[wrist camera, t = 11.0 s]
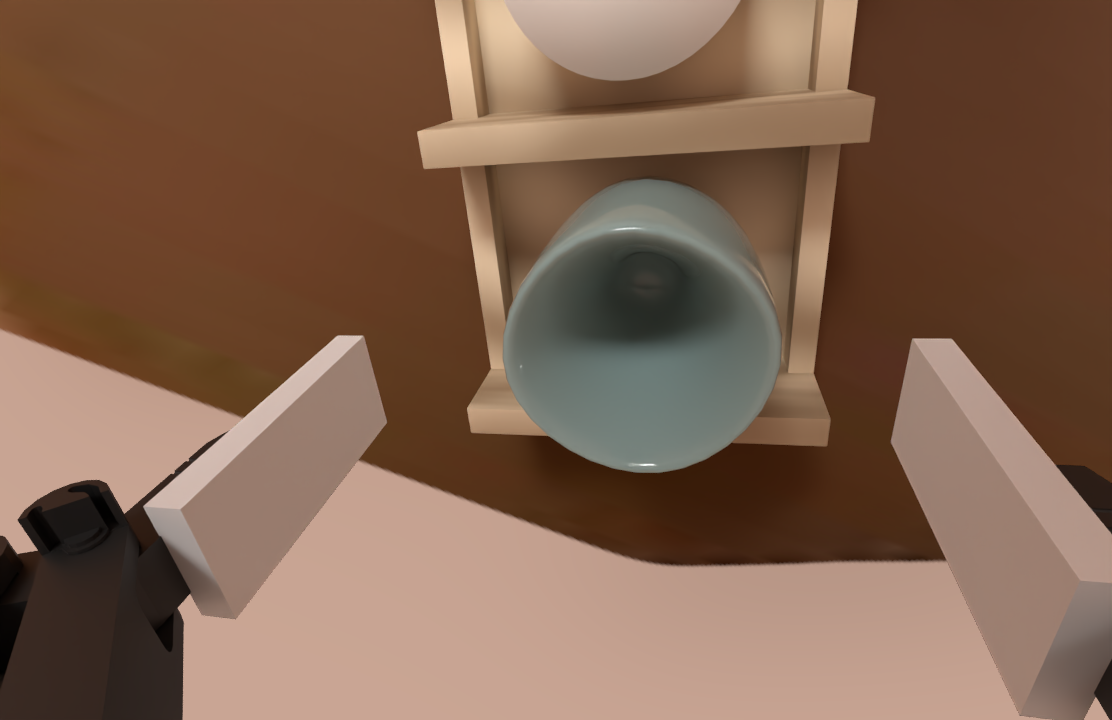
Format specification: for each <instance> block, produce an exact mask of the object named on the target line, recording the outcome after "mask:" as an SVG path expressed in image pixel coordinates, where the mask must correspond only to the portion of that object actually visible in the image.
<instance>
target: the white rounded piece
mask: <svg viewBox="0 0 1112 720" xmlns="http://www.w3.org/2000/svg"><path fill="white" fill-rule="evenodd" d="M504 2H505V4H506V6H507V8H508V10H509V12H510V13H511V15H512V17H513V19H514V21H515V22H516V23H517V25H518V26H519V28H520V29H521V30H522V32H523V33H524V35H525V36H526V37H527V38H528V39H529V40H530V41H531V42H532V43H533V44H534V46H535V47H536V48H537V49H539V50H540V51H541V52H542V53H543V54H545V55H546V56H547V57H548V58H549V59H551V60H553V61H554V62H556V63H557V64H559V65H561V66H562V67H564V68H566V69H568V70H571V71H573V72H575V73H577V74H580V75H584V76H587V77H591V78H594V79H602V80H610V81H618V80H632V79H639V78H644V77H647V76H651V75H654V74H657V73H660V72H663V71H665V70H667V69H669V68H671V67H673V66H676V65H677V64H679V63H681V62H682V61H684V60H685V59H687V58H688V57H690V56H692V55H693V54H694V53H695V52H697V51H698V50H699V49H700V48H702V47H703V46H704V45H705V44H706V43H707V42H708V41H709V40H710V39H711V38H712V37H713V36H714V35H715V34H716V33H717V32H718V31H719V30H720V29H721V28H722V26H723V25H724V24H725V23H726V21H727V20H728V19H729V17H730V16H731V15H732V13H733V12H734V10H735V9H736V7H737V5H738V4H739V2H740V0H504Z"/></svg>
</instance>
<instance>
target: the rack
mask: <svg viewBox="0 0 1112 720" xmlns="http://www.w3.org/2000/svg"><path fill="white" fill-rule="evenodd" d="M857 4H858V0H740V2H739V4H738V5H737V7H736V9H735V10H734V12H733V13H732V15H731V16H730V17H729V19H728V20H727V21H726V23H725V24H724V25H723V26H722V28H721V29H720V30H719V31H718V32H717V33H716V34H715V35H714V36H713V37H712V38H711V39H710V40H709V41H708V42H707V43H706V44H705V45H704V46H703V47H702V48H700V49H699V50H698V51H697V52H695V53H694V54H693V55H692V56H690V57H688V58H687V59H685V60H684V61H682V62H681V63H679V64H677V65H676V66H673V67H671V68H669V69H667V70H665V71H663V72H660V73H657V74H654V75H651V76H647V77H644V78H639V79H632V80H618V81H610V80H602V79H594V78H591V77H587V76H584V75H580V74H577V73H575V72H573V71H571V70H568V69H566V68H564V67H562V66H561V65H559V64H557V63H556V62H554V61H553V60H551V59H549V58H548V57H547V56H546V55H545V54H543V53H542V52H541V51H540V50H539V49H537V48H536V47H535V46H534V44H533V43H532V42H531V41H530V40H529V39H528V38H527V37H526V36H525V35H524V33H523V32H522V30H521V29H520V28H519V26H518V25H517V23H516V22H515V21H514V19H513V17H512V15H511V13H510V12H509V10H508V8H507V6H506V4H505V2H504V0H435V5H436V12H437V19H438V25H439V32H440V38H441V45H442V51H443V58H444V64H445V71H446V77H447V84H448V90H449V97H450V103H451V110H452V116H453V120H452V121H449V122H446V123H443V124H440V125H436V126H433V127H430V128H427V129H424V130H421V131H418V132H417V133H418V139H419V144H420V150H421V156H422V161H423V167H424V169H431V168H448V167H460V168H461V175H462V181H463V188H464V195H465V201H466V208H467V214H468V221H469V227H470V234H471V240H472V247H473V253H474V260H475V266H476V273H477V279H478V286H479V292H480V299H481V305H482V312H483V318H484V325H485V331H486V338H487V344H488V351H489V357H490V364H491V370H490V372H489V373H488V375H487V377H486V378H485V380H484V382H483V383H482V385H481V386H480V388H479V390H478V391H477V393H476V395H475V396H474V398H473V400H472V401H471V403H470V405H469V406H468V408H467V411H468V417H469V422H470V428H471V433H488V434H514V435H540V436H548V435H547V434H546V433H545V432H544V431H543V430H542V429H541V428H540V427H539V426H538V425H536V424H535V423H534V422H533V421H532V420H531V419H530V417H529V416H528V415H527V414H526V412H525V411H524V410H523V408H522V407H521V406H520V404H519V403H518V402H517V400H516V398H515V396H514V394H513V392H512V390H511V388H510V385H509V383H508V381H507V378H506V373H505V368H504V363H503V334H504V329H505V325H506V321H507V317H508V313H509V309H510V307H511V304H512V302H513V300H514V298H515V296H516V294H517V291H518V289H519V287H520V285H521V283H522V281H523V279H524V277H525V276H526V274H527V272H528V271H529V269H530V268H531V266H532V265H533V264H534V262H535V261H536V259H537V258H538V256H539V255H540V254H541V252H542V251H543V249H544V248H545V247H546V245H547V244H548V242H549V241H550V240H551V238H552V237H553V235H554V234H555V233H556V231H557V230H558V229H559V227H560V226H561V225H562V224H563V222H564V221H565V220H566V219H567V218H568V217H569V216H570V215H571V214H572V213H573V212H574V211H575V210H576V209H577V208H578V207H579V206H580V205H581V204H582V203H583V202H584V201H586V200H587V199H588V198H589V197H591V196H592V195H594V194H595V193H597V192H599V191H600V190H602V189H603V188H605V187H606V186H608V185H610V184H613V183H616V182H618V181H621V180H624V179H627V178H629V177H638V176H647V175H650V176H659V177H668V178H672V179H675V180H678V181H681V182H684V183H688V184H690V185H692V186H694V187H696V188H697V189H699V190H701V191H703V192H705V193H707V194H708V195H710V196H711V197H712V198H713V199H715V200H716V201H717V202H718V203H720V204H721V205H722V206H723V207H725V208H726V209H727V210H728V211H729V213H730V214H731V215H732V216H733V217H734V218H735V219H736V221H737V222H738V223H739V224H740V225H741V227H742V228H743V229H744V231H745V233H746V234H747V236H748V238H749V240H750V242H751V243H752V245H753V247H754V249H755V251H756V253H757V254H758V256H759V259H760V261H761V263H762V266H763V268H764V271H765V274H766V277H767V279H768V282H769V285H770V288H771V291H772V295H773V298H774V302H775V306H776V309H777V313H778V317H779V321H780V325H781V329H782V360H781V365H780V369H779V372H778V376H777V379H776V383H775V386H774V389H773V391H772V393H771V394H770V396H769V398H768V400H767V402H766V404H765V406H764V407H763V409H762V411H761V412H760V413H759V415H758V416H757V417H756V418H755V419H754V421H753V422H752V423H751V424H750V426H749V427H748V428H747V429H746V430H745V431H744V432H743V433H742V434H741V435H740V436H738V437H737V438H736V439H735V440H734V441H733V442H732V443H750V444H776V445H802V446H827V443H828V435H829V428H830V421H831V419H830V416H829V413H828V411H827V408H826V405H825V403H824V400H823V397H822V395H821V392H820V389H819V387H818V384H817V381H816V379H815V376H814V366H815V357H816V349H817V340H818V332H819V324H820V315H821V307H822V298H823V290H824V282H825V273H826V265H827V256H828V248H829V239H830V231H831V223H832V214H833V206H834V197H835V189H836V181H837V172H838V164H839V155H840V147H841V144H844V143H861V142H869V140H870V133H871V125H872V118H873V111H874V104H875V97H872V96H868V95H865V94H862V93H858V92H855V91H851V90H848V89H847V88H848V80H849V71H850V63H851V54H852V46H853V37H854V29H855V21H856V12H857Z"/></svg>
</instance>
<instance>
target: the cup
mask: <svg viewBox="0 0 1112 720" xmlns="http://www.w3.org/2000/svg"><path fill="white" fill-rule="evenodd" d="M781 360H782V329H781V325H780V321H779V317H778V313H777V309H776V306H775V302H774V298H773V295H772V291H771V288H770V285H769V282H768V279H767V277H766V274H765V271H764V268H763V266H762V263H761V261H760V259H759V256H758V254H757V253H756V251H755V249H754V247H753V245H752V243H751V242H750V240H749V238H748V236H747V234H746V233H745V231H744V229H743V228H742V227H741V225H740V224H739V223H738V222H737V221H736V219H735V218H734V217H733V216H732V215H731V214H730V213H729V211H728V210H727V209H726V208H725V207H723V206H722V205H721V204H720V203H718V202H717V201H716V200H715V199H713V198H712V197H711V196H710V195H708V194H707V193H705V192H703V191H701V190H699V189H697V188H696V187H694V186H692V185H690V184H688V183H684V182H681V181H678V180H675V179H672V178H668V177H659V176H650V175H647V176H638V177H629V178H627V179H624V180H621V181H618V182H616V183H613V184H610V185H608V186H606V187H605V188H603V189H602V190H600V191H599V192H597V193H595V194H594V195H592V196H591V197H589V198H588V199H587V200H586V201H584V202H583V203H582V204H581V205H580V206H579V207H578V208H577V209H576V210H575V211H574V212H573V213H572V214H571V215H570V216H569V217H568V218H567V219H566V220H565V221H564V222H563V224H562V225H561V226H560V227H559V229H558V230H557V231H556V233H555V234H554V235H553V237H552V238H551V240H550V241H549V242H548V244H547V245H546V247H545V248H544V249H543V251H542V252H541V254H540V255H539V256H538V258H537V259H536V261H535V262H534V264H533V265H532V266H531V268H530V269H529V271H528V272H527V274H526V276H525V277H524V279H523V281H522V283H521V285H520V287H519V289H518V291H517V294H516V296H515V298H514V300H513V302H512V304H511V307H510V309H509V313H508V317H507V321H506V325H505V329H504V334H503V363H504V368H505V373H506V378H507V381H508V383H509V385H510V388H511V390H512V392H513V394H514V396H515V398H516V400H517V402H518V403H519V404H520V406H521V407H522V408H523V410H524V411H525V412H526V414H527V415H528V416H529V417H530V419H531V420H532V421H533V422H534V423H535V424H536V425H538V426H539V427H540V428H541V429H542V430H543V431H544V432H545V433H546V434H547V435H548V436H549V437H551V438H552V439H554V440H555V441H557V442H558V443H560V444H561V445H562V446H564V447H565V448H567V449H568V450H570V451H572V452H574V453H576V454H578V455H580V456H582V457H584V458H586V459H588V460H590V461H593V462H596V463H599V464H602V465H605V466H607V467H610V468H614V469H619V470H625V471H630V472H636V473H661V472H667V471H672V470H677V469H682V468H685V467H688V466H690V465H693V464H695V463H698V462H700V461H703V460H705V459H707V458H709V457H711V456H712V455H714V454H715V453H717V452H719V451H720V450H722V449H724V448H725V447H727V446H728V445H729V444H730V443H732V442H733V441H734V440H735V439H736V438H737V437H738V436H740V435H741V434H742V433H743V432H744V431H745V430H746V429H747V428H748V427H749V426H750V424H751V423H752V422H753V421H754V419H755V418H756V417H757V416H758V415H759V413H760V412H761V411H762V409H763V407H764V406H765V404H766V402H767V400H768V398H769V396H770V394H771V393H772V391H773V389H774V386H775V383H776V379H777V376H778V372H779V369H780V365H781Z"/></svg>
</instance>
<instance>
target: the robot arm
mask: <svg viewBox="0 0 1112 720" xmlns="http://www.w3.org/2000/svg"><path fill="white" fill-rule="evenodd" d="M386 423H387V421H386V417H385V413H384V409H383V406H382V402H381V398H380V395H379V391H378V387H377V383H376V380H375V376H374V372H373V369H372V365H371V361H370V357H369V354H368V350H367V346H366V343H365V339H364V336H337V337H336V338H335V339H333V340H332V341H331V342H330V343H329V344H328V345H327V346H325V347H324V348H323V349H322V350H321V351H320V352H319V353H317V354H316V355H315V356H314V357H313V358H312V359H311V360H309V361H308V362H307V363H306V364H305V365H304V366H303V367H301V368H300V369H299V370H298V371H297V372H296V373H295V374H293V375H292V376H291V377H290V378H289V379H288V380H287V381H285V382H284V383H283V384H282V385H281V386H280V387H279V388H278V389H276V390H275V391H274V392H273V393H272V394H271V395H270V396H268V397H267V398H266V399H265V400H264V401H263V402H262V403H260V404H259V405H258V406H257V407H256V408H255V409H254V410H252V411H251V412H250V413H249V414H248V415H247V416H246V417H244V418H243V419H242V420H241V421H240V422H239V423H238V424H237V425H235V426H234V427H233V428H232V429H231V430H229V431H228V432H226V433H224V434H222V435H220V436H219V437H217V438H215V439H213V440H211V441H210V442H208V443H206V444H205V445H204V446H203V447H202V448H200V449H199V450H198V451H197V452H196V453H195V454H194V455H192V456H191V457H190V458H189V461H188V462H187V461H186V462H184V463H183V464H182V465H181V466H180V467H179V468H177V469H176V470H175V473H174V474H170V475H169V476H168V477H167V478H166V479H165V480H163V481H162V482H161V483H160V484H159V485H158V486H156V487H155V488H154V489H153V490H152V491H151V492H149V493H148V494H147V495H146V496H145V497H144V498H142V499H141V500H140V501H139V502H138V503H137V504H136V505H134V506H133V507H132V508H131V509H130V510H129V511H127V512H126V513H125V514H124V513H123V511H122V509H121V508H120V506H119V504H118V502H117V501H116V499H115V497H114V495H113V493H112V492H111V490H110V488H109V486H108V485H107V483H105V482H102V481H100V480H86V481H81V482H78V483H73V484H69V485H67V486H65V487H62V488H59V489H57V490H54V491H52V492H50V493H49V494H47V495H45V496H43V497H42V498H40V499H38V500H37V501H35V502H34V503H33V504H32V505H30V506H29V507H28V508H27V509H26V510H24V512H23V513H22V514H21V516H20V517H19V519H18V521H19V523H20V524H21V525H22V527H23V529H24V530H25V532H26V533H27V535H28V536H29V538H30V539H31V541H32V542H33V543H34V545H35V546H36V548H37V549H38V551H34V552H27V553H21V554H17V553H16V552H15V550H14V549H13V548H12V546H11V545H10V543H9V542H8V540H7V539H6V538H5V537H3V536H0V720H182V715H183V714H182V713H183V627H184V622H183V619H182V616H181V614H180V612H179V610H178V606H179V605H180V604H181V603H182V602H183V601H184V600H185V599H186V597H187V596H188V595H189V594H191V596H192V598H193V600H194V602H195V603H196V605H197V607H198V609H199V611H200V612H201V614H202V615H205V616H214V617H222V618H230V619H236V618H237V617H238V615H239V614H240V613H241V612H242V611H243V609H244V608H245V607H246V605H247V604H248V603H249V601H250V600H251V599H252V598H253V596H254V595H255V594H256V592H257V591H258V590H259V588H260V587H261V586H262V585H263V583H264V582H265V581H266V579H267V578H268V576H269V575H270V574H271V573H272V571H273V570H274V569H275V567H276V566H277V565H278V564H279V562H280V561H281V560H282V558H283V557H284V556H285V555H286V553H287V552H288V551H289V549H290V548H291V547H292V545H293V544H294V543H295V542H296V540H297V539H298V538H299V536H300V535H301V534H302V532H303V531H304V530H305V528H306V527H307V526H308V525H309V523H310V522H311V521H312V519H313V518H314V517H315V516H316V514H317V513H318V512H319V510H320V509H321V508H322V506H323V505H324V504H325V503H326V501H327V500H328V499H329V497H330V496H331V495H332V493H333V492H334V491H335V490H336V488H337V487H338V485H339V484H340V483H341V482H342V480H343V479H344V478H345V476H346V475H347V474H348V473H349V471H350V470H351V469H352V467H353V466H354V465H355V463H356V462H357V461H358V460H359V458H360V457H361V456H362V454H363V453H364V452H365V450H366V449H367V448H368V447H369V445H370V444H371V443H372V441H373V440H374V439H375V437H376V436H377V435H378V434H379V432H380V431H381V430H382V428H383V427H384V426H385V424H386ZM891 443H892V446H893V448H894V450H895V452H896V454H897V456H898V458H899V460H900V463H901V465H902V467H903V469H904V471H905V473H906V475H907V477H908V480H909V482H910V484H911V486H912V488H913V490H914V492H915V494H916V496H917V499H918V501H919V503H920V505H921V507H922V509H923V511H924V513H925V516H926V518H927V520H928V522H929V524H930V526H931V528H932V530H933V533H934V535H935V537H936V539H937V541H938V543H939V545H940V547H941V550H942V552H943V554H944V556H945V558H946V560H947V562H948V564H949V566H950V568H951V571H952V573H953V575H954V577H955V579H956V581H957V583H958V586H959V588H960V590H961V592H962V594H963V596H964V598H965V600H966V603H967V605H968V607H969V609H970V611H971V613H972V615H973V617H974V620H975V622H976V624H977V626H978V628H979V630H980V632H981V634H982V637H983V639H984V641H985V643H986V645H987V647H988V649H989V651H990V653H991V656H992V658H993V660H994V662H995V664H996V666H997V668H998V670H999V672H1000V674H1001V676H1002V679H1003V681H1004V683H1005V685H1006V687H1007V690H1008V692H1009V694H1010V696H1011V698H1012V700H1013V702H1014V704H1015V707H1016V709H1017V711H1018V713H1019V715H1020V716H1028V717H1036V718H1044V719H1052V720H1084V718H1085V716H1086V714H1087V712H1088V710H1089V708H1090V706H1091V704H1092V703H1093V701H1094V699H1095V697H1097V699H1098V701H1099V702H1100V704H1101V706H1102V707H1103V709H1104V711H1105V712H1106V714H1107V716H1108V718H1109V719H1110V720H1112V483H1110V482H1109V481H1107V480H1106V479H1104V478H1103V477H1101V476H1099V475H1098V474H1096V473H1095V472H1093V471H1092V470H1090V469H1088V468H1087V467H1085V466H1072V465H1055V464H1054V463H1053V462H1052V461H1051V459H1050V458H1049V457H1048V456H1047V455H1046V453H1045V452H1044V451H1043V450H1042V448H1041V447H1040V446H1039V445H1038V444H1037V442H1036V441H1035V440H1034V439H1033V437H1032V436H1031V435H1030V434H1029V433H1028V431H1027V430H1026V429H1025V428H1024V426H1023V425H1022V424H1021V423H1020V422H1019V420H1018V419H1017V418H1016V417H1015V415H1014V414H1013V413H1012V412H1011V411H1010V409H1009V408H1008V407H1007V406H1006V404H1005V403H1004V402H1003V401H1002V400H1001V398H1000V397H999V396H998V395H997V393H996V392H995V391H994V390H993V389H992V387H991V386H990V385H989V384H988V382H987V381H986V380H985V379H984V378H983V376H982V375H981V374H980V373H979V372H978V370H977V369H976V368H975V367H974V365H973V364H972V363H971V362H970V361H969V359H968V358H967V357H966V356H965V354H964V353H963V352H962V351H961V350H960V348H959V347H958V346H957V345H956V343H955V342H954V341H953V340H952V339H912V342H911V347H910V352H909V357H908V361H907V366H906V371H905V376H904V381H903V386H902V390H901V395H900V400H899V405H898V410H897V414H896V419H895V424H894V429H893V434H892V439H891Z"/></svg>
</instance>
